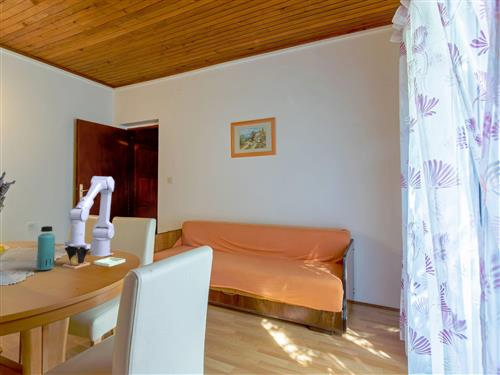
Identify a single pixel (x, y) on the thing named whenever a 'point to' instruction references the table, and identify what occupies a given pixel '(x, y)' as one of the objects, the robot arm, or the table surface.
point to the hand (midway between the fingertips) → (76, 262)
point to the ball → (74, 260)
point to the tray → (109, 261)
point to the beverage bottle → (45, 249)
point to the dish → (75, 266)
